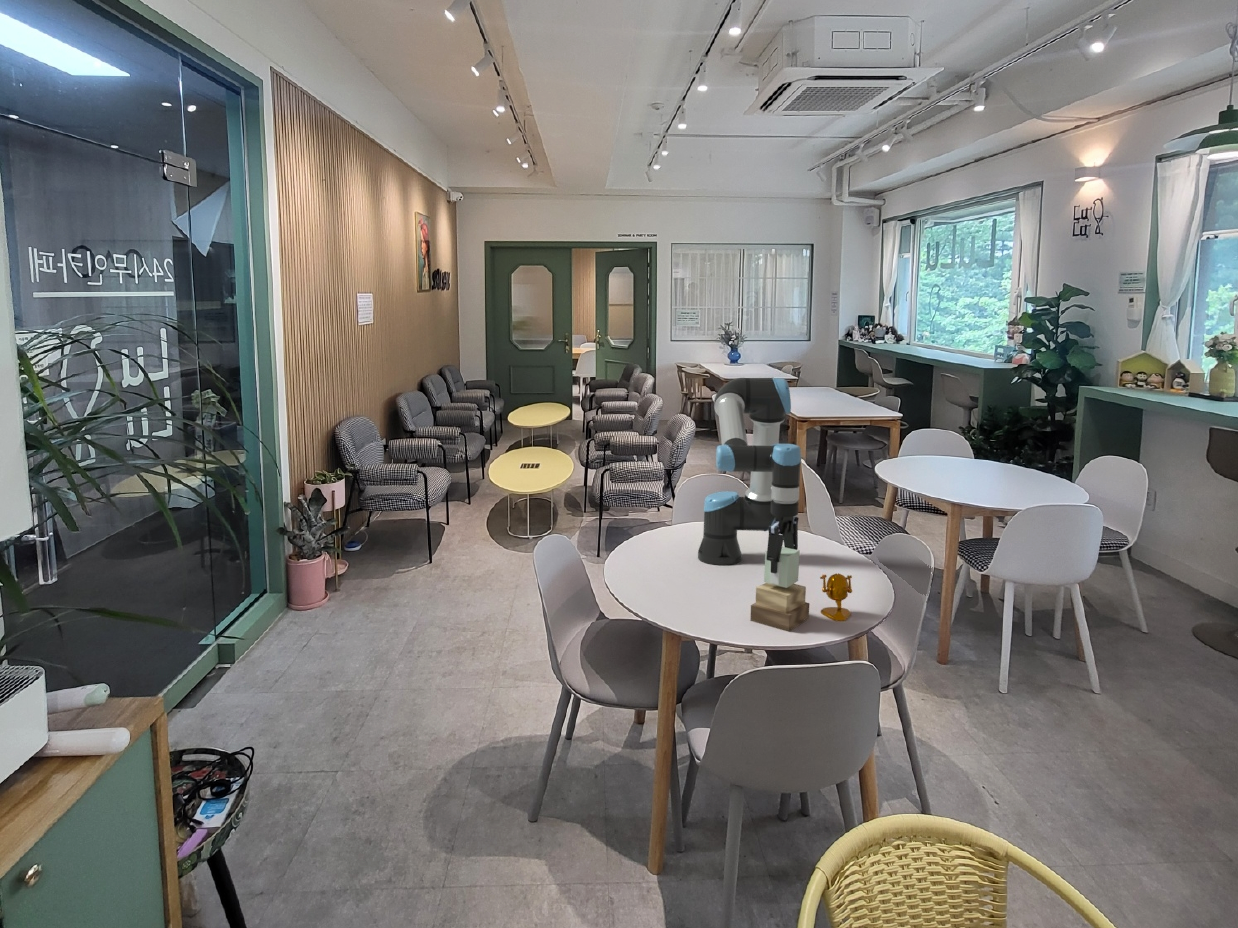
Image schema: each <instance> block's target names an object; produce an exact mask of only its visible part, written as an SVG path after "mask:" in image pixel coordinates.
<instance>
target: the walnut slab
mask: <svg viewBox="0 0 1238 928" xmlns="http://www.w3.org/2000/svg"><path fill="white" fill-rule="evenodd" d="M809 616H810V602H806V601H805V604H803V605H801V606H799V607H797V608H795V609H793V610H791V611H790V612H788V613H784V612H780V611H777V610H774V609H770V608H767V607H763V606H760V605H757V604H756V602H754V603H752V604H751V605H750V618H749V619H750V622H753V623H757V624H761V625H764V626H768V627H771V628H774V629H778V630H781V631H784V632H788V633H789V632H791V631H792V630H794V629H795V628H797V627H798V626H800V625H801V624H803V623H804V622H806V621H807V620H809V618H810V617H809Z"/></svg>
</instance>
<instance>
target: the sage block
mask: <svg viewBox="0 0 1238 928" xmlns="http://www.w3.org/2000/svg"><path fill="white" fill-rule="evenodd" d="M766 558H767V550H765V553H764V572H763V573H764V575H763V576H764V579H763V583H764V584H765V583H769V584H773V583H770V566H771V561H768V560H767V559H766ZM779 561H780V562H781V569H780V584H779V585H777V584H773V585H777V586H781V587H786V588H787V587H789V586H791V585H792V584H797V582H798V581H799V569H800V567H799V566H800V550H799V549H797V550H795V549H790V548H786V547H785V546H782V550H781V554H780V559H779Z"/></svg>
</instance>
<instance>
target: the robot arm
mask: <svg viewBox="0 0 1238 928" xmlns="http://www.w3.org/2000/svg"><path fill="white" fill-rule="evenodd" d="M791 400H792V399H791V391H790V386H789V383H788V381H787V380H786V379H785V378H778V377H777V378H776V377H773V376H772V377H738V378H734V379H731V380H729V381H727V382H726V383H725V384H723V386H721V387H720V389H719V390H718V391H717V393H716V395H715V397H714V401H713V405H714V406H713V407H714V411H715V414H716V415H717V417H718V423H719V431H720V432H719V433H720V441H721V442H720V443H721V445H717V447H716V452H715V454H716V455H715V460H716V462H715V465H716V469H717V470H718V471H719V472H729V473H732V472H733V473H734V472H736V473H738V472H743V473H745V472H750V478H749V479H750V482H749V488H747V489H746V490H745V492H744V496H740V495H739V493H738V492H737V491H730V490H729V491H727V490H726V491H725V490H724V491H718V492H717V491H716V492H713V493H711V494H708V495H707V496H705V499H704V503H703V504H704V506H703V532H702V533H703V535H702V536H703V537H702V538H701V539H702V540H701V542H700V545H699V547H698V551H697V558H698V560H699V561H701V562H703V563H705V564H708V565H709V564H710V565H716V566H725V565H734V564H737V563H739V562H741V561H742V551H741V550H742V549H741V547H740V544H739V539H738V531H753V532H755V531H756V532H758V531H759V532H768V537H767V538H768V540H767V550H766V551H767V558H766V559H767V560H768V561H771V566H770V583H773V584H777V585H779V584H780V569H781V562H780V561H779V559H780V554H781V550H782V547H786V548H790V549H795V550H799V547H798V546H799V545H798V544H799V543H798V542H799V541H798V540H799V539H798V538H799V537H798V531H799V529H798V527H799V526H798V525H799V517H798V514H799V502H798V501H799V500H800V481H801V480H800V477H801V476H800V475H801V462H802V456H801V455H802V450H801V447H800V446H799V444H793V443H779V441H780V428H781V424H782V423H784V421H785V420H786V415H789V414H791V410H792V401H791ZM744 414H747V415H749V416H748V417H749V420H750V421H751V422H753V429H752V443H751V444H752V445H749V444H748V439H747V438H748V437H747V432H746V427H745V426H746V425H745V419H744ZM783 545H784V546H783Z"/></svg>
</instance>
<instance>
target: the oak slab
mask: <svg viewBox="0 0 1238 928" xmlns="http://www.w3.org/2000/svg"><path fill="white" fill-rule="evenodd" d="M755 587H756V588H755V603H756V604H757V605H760V606H763V607H767V608H770V609H774V610H777V611H780V612H784V613H788V612H790V611H791V610H793V609H795V608H797V607H799V606H801V605H803V604H805V602H806V595H807V594H806V593H807V592H806V591H807V587H806V586H805V585H800V584H797V583H794V584H792V585H791V586H789V587H787V588H786V587H781V586H777V585H773V584H769V583H765V582H764V584H761V585H759V586H755Z"/></svg>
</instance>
